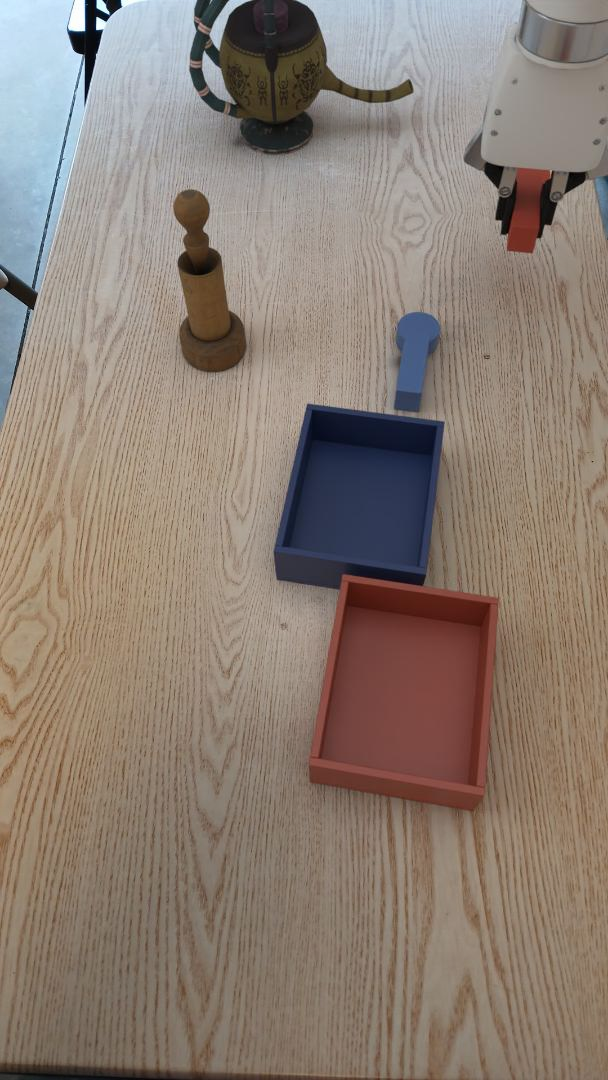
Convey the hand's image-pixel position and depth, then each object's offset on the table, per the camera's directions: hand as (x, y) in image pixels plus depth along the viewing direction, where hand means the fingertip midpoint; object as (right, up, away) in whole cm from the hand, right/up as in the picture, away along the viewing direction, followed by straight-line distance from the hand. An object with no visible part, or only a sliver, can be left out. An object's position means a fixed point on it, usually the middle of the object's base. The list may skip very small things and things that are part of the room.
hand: (521, 225), depth 78 cm
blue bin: (-15, -27, -4) cm, 32 cm away
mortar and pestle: (-29, -10, +6) cm, 32 cm away
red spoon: (0, +2, +1) cm, 2 cm away
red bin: (-13, -42, -13) cm, 46 cm away
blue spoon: (-10, -12, +4) cm, 16 cm away
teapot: (-20, +20, +23) cm, 36 cm away
